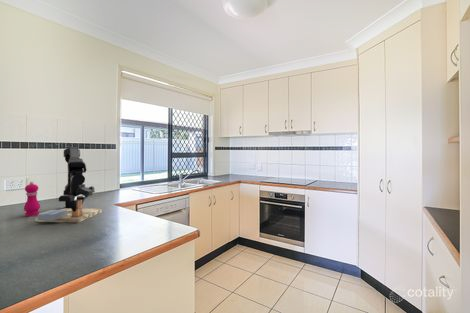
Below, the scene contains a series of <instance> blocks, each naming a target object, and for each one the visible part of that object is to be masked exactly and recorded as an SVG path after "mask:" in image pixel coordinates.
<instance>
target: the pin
mask: <svg viewBox="0 0 470 313" xmlns="http://www.w3.org/2000/svg"><path fill="white" fill-rule="evenodd" d="M82 209H83V204H82V200H80V199H79V200H78V201H77V203H76V212H73V210H72V217H80V216H82Z"/></svg>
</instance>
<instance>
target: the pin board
mask: <svg viewBox="0 0 470 313" xmlns="http://www.w3.org/2000/svg"><path fill="white" fill-rule="evenodd" d="M60 210H67V216H64V217H62V218H59V219H56V220H38V218H37V217H35V218H34V219H35V220H34V222H36V223H37V222H38V223H39V222H40V223H80V222H83V221H85V220H87V219H90V218H91V217H94V216H96V215H98V213H99V214H101V213H102V211H103V210H102V208H82V216H80V217H72V209H71V208H64V207H63V208H61V209H60Z"/></svg>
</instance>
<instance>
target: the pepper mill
mask: <svg viewBox="0 0 470 313" xmlns="http://www.w3.org/2000/svg"><path fill="white" fill-rule="evenodd" d="M24 191H25V192H26V195H25V196H27V197H26V198H27V199H26V202H25V203H24V207H23V211H24V212H25V213H24V216H25V217H34V216H37V214H40V210H41V204H40V202H39V200H38V198H37V195H38V191H39V186H38V185H37V184H35V183H34V181H30V182H29V184H27V185H25V187H24Z"/></svg>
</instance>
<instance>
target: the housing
mask: <svg viewBox="0 0 470 313" xmlns="http://www.w3.org/2000/svg"><path fill="white" fill-rule="evenodd" d="M36 216H37V217H36V218H38V220H56V219H59V218H62V217H64V216H67V210H61V209H50V210H47V211H44V212H41V213H40V212H39V214H37V215H36Z"/></svg>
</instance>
